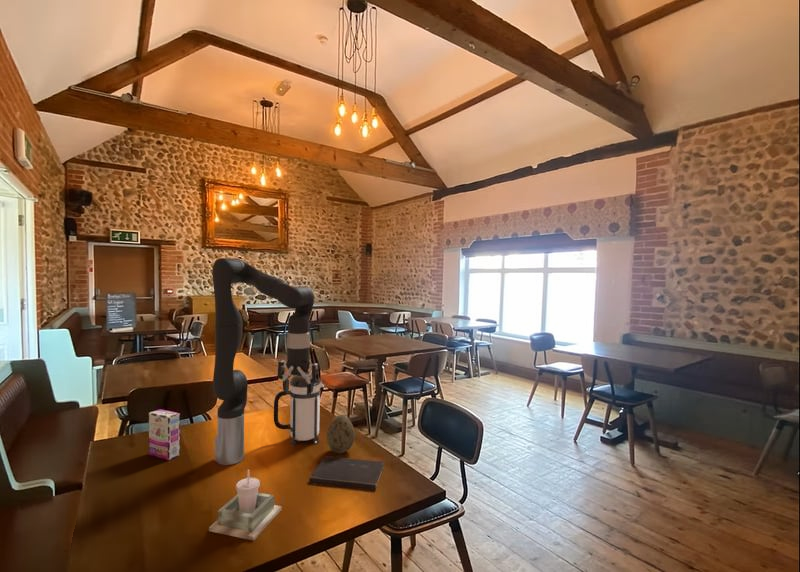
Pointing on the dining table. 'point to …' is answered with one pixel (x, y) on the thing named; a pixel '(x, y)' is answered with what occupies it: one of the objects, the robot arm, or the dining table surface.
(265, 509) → the green glass shallow box
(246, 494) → the smoothie
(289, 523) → the dining table surface
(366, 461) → the hardcover book
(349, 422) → the decorative egg
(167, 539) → the dining table surface
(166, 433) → the candy bar box
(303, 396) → the coffee press
